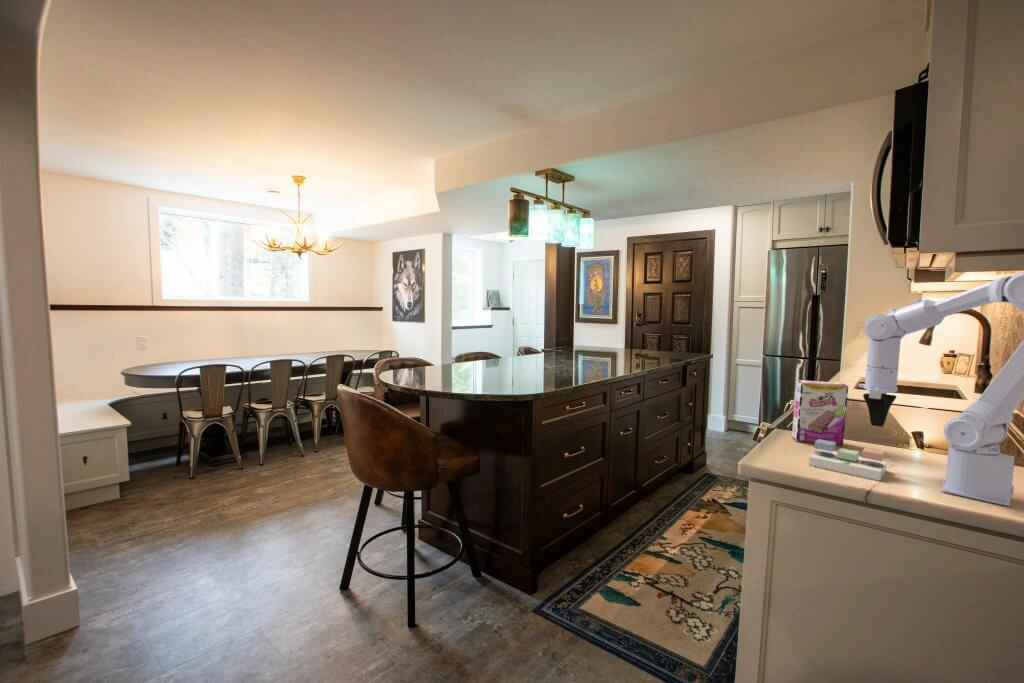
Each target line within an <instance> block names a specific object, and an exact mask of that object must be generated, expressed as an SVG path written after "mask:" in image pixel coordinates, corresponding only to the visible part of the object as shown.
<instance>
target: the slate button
mask: <svg viewBox="0 0 1024 683" xmlns="http://www.w3.org/2000/svg"><path fill="white" fill-rule="evenodd" d="M836 446H837V445H836V442H832V441H826V440H821V439H818V440H817V441H815V443H814V449H817V450H818V449H821V450H826V451H831V452H832V451H835V449H836Z"/></svg>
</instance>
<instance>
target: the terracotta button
mask: <svg viewBox="0 0 1024 683" xmlns="http://www.w3.org/2000/svg"><path fill="white" fill-rule="evenodd" d="M885 453H886V451H885V450H879V449H874V448H870V447H864V448H863V449H862V451H861V457H862V458H866V459H871V460H876V461H881V462H882V461H884V459H885Z"/></svg>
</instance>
